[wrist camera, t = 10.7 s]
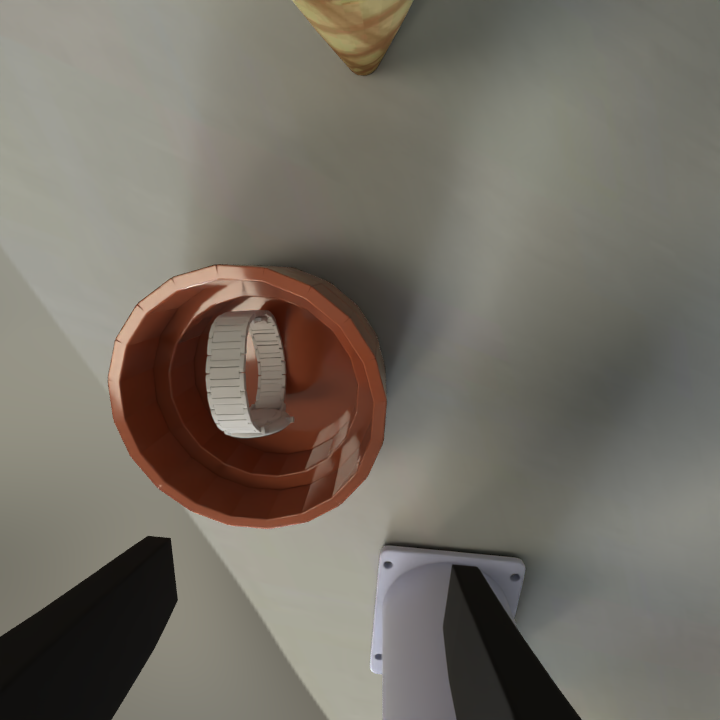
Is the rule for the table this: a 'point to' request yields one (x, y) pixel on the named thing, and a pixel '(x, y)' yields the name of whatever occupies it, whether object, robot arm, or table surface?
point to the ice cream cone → (356, 28)
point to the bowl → (251, 396)
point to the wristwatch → (231, 383)
